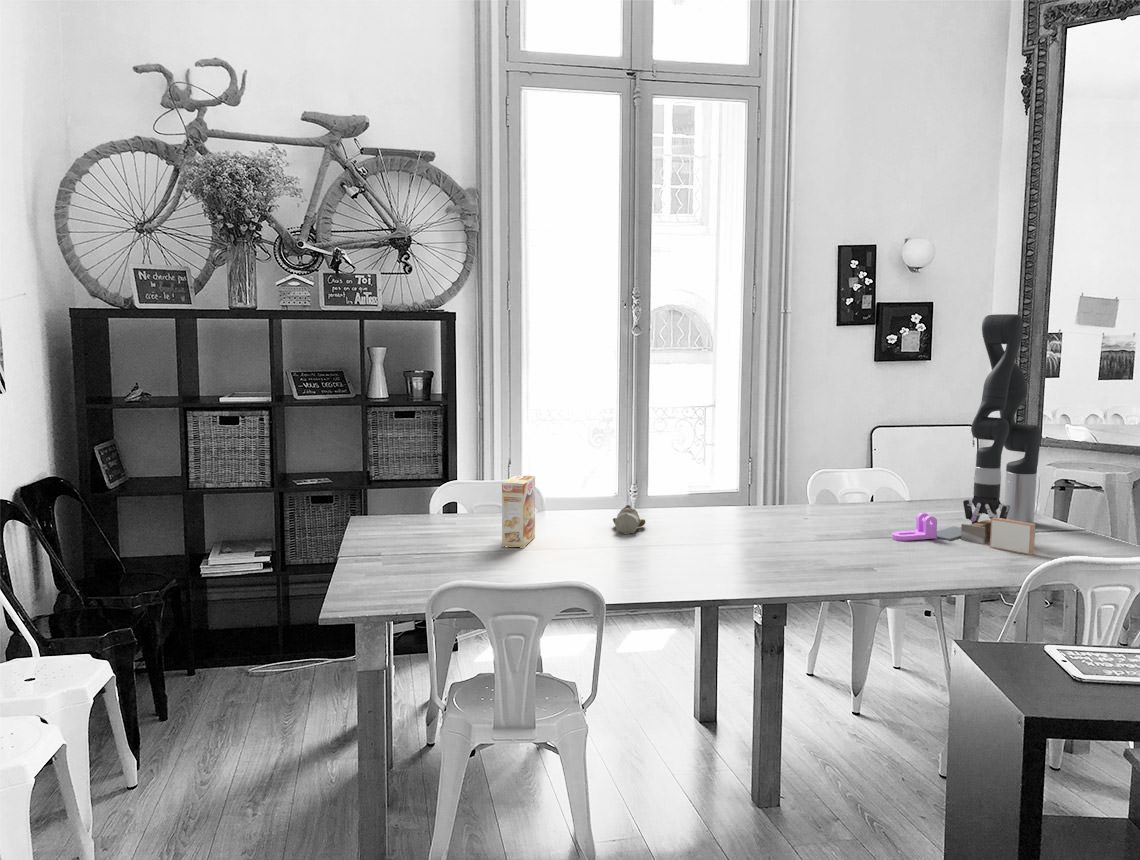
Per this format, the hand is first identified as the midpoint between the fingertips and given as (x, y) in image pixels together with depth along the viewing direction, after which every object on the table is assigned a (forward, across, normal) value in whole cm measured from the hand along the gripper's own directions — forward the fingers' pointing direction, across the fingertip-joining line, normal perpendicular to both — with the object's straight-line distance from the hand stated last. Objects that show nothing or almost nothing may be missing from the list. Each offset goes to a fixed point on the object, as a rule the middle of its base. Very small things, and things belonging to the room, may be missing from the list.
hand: (984, 534), depth 292 cm
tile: (+1, -13, +10) cm, 16 cm away
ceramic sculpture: (+1, +79, +78) cm, 111 cm away
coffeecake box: (+1, +88, +115) cm, 145 cm away
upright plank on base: (+1, 0, +2) cm, 2 cm away
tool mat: (+1, +9, +3) cm, 10 cm away
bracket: (+1, +14, +18) cm, 23 cm away
